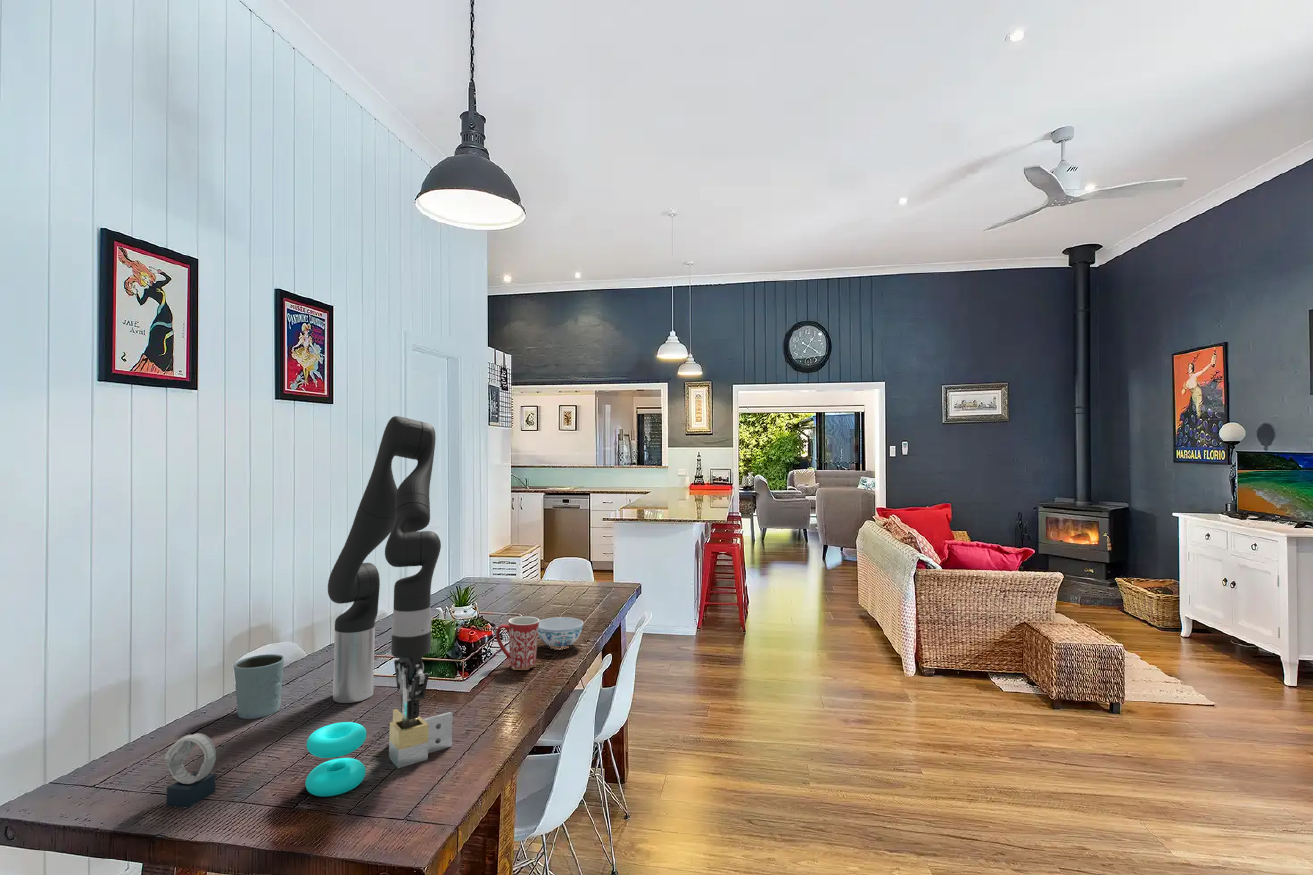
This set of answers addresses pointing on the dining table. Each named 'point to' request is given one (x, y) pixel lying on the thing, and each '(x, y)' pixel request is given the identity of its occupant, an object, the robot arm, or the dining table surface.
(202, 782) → the watch
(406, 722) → the hinge pin
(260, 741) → the dining table surface
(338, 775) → the donuts
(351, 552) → the robot arm
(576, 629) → the chinaware
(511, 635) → the mug
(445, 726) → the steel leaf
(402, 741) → the bracket
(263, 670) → the embossed green planter pot
